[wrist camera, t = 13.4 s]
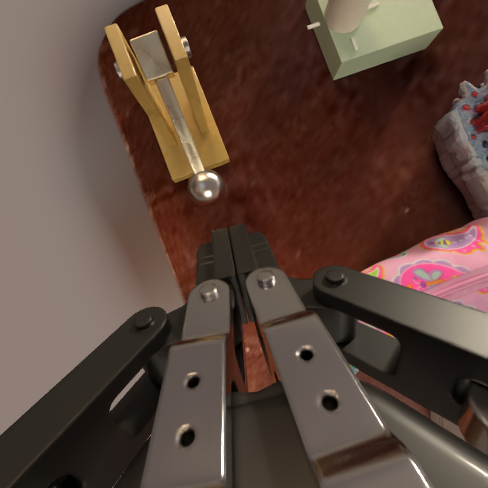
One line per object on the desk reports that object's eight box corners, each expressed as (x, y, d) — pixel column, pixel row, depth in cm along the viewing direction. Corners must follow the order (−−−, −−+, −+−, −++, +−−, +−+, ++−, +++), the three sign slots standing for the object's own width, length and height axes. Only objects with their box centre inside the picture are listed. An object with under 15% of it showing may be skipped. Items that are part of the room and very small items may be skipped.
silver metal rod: (227, 194, 29) (232, 202, 25) (196, 206, 29) (196, 216, 25) (169, 37, 23) (164, 23, 19) (128, 53, 23) (117, 40, 19)
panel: (316, 86, 33) (323, 68, 30) (288, 13, 33) (292, -13, 30) (425, 49, 33) (444, 26, 30) (395, -24, 33) (411, -53, 30)
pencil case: (317, 366, 31) (347, 410, 22) (286, 291, 31) (302, 305, 22) (487, 293, 31) (586, 306, 22) (453, 220, 32) (536, 205, 23)
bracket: (229, 162, 32) (218, 98, 19) (175, 183, 32) (128, 132, 19) (194, 72, 33) (161, -46, 20) (141, 93, 33) (74, -14, 20)
